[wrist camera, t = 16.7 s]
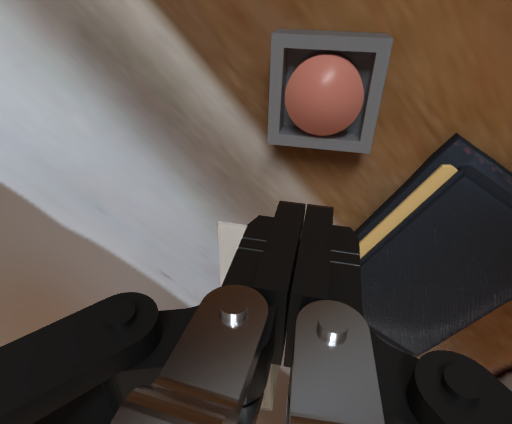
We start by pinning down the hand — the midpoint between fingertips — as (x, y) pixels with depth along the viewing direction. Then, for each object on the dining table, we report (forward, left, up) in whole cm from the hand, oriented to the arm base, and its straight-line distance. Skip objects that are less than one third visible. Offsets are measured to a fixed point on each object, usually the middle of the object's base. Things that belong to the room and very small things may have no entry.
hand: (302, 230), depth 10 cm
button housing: (0, 0, -19) cm, 19 cm away
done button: (0, 0, -18) cm, 17 cm away
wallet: (-11, +15, -19) cm, 26 cm away
